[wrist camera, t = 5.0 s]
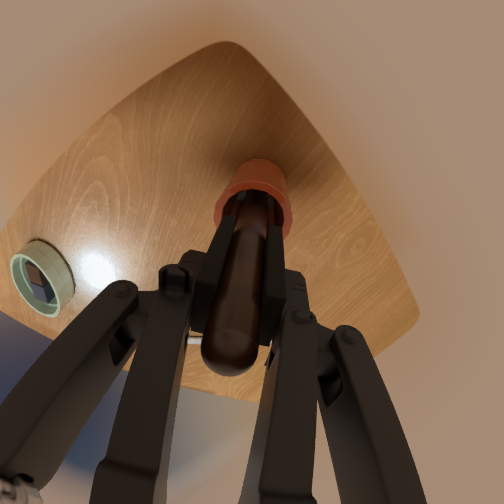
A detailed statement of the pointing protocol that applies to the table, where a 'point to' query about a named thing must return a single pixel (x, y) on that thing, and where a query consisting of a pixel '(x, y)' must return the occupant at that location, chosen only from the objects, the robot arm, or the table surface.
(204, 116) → the table surface
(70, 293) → the bowl
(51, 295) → the block
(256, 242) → the stick
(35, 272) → the block
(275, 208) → the holder
